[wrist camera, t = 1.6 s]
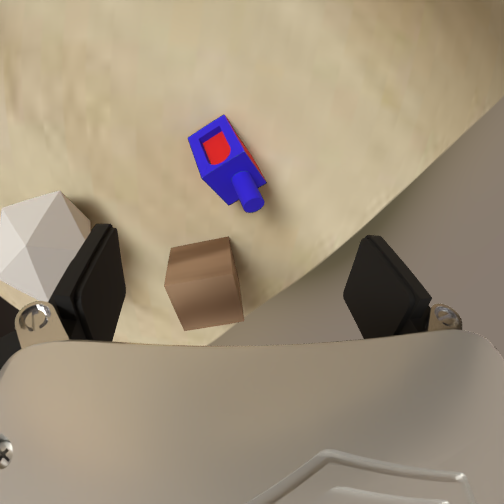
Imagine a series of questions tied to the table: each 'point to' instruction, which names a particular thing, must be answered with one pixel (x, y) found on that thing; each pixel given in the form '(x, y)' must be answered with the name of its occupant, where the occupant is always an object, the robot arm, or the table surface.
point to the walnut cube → (204, 284)
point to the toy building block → (227, 164)
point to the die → (40, 242)
